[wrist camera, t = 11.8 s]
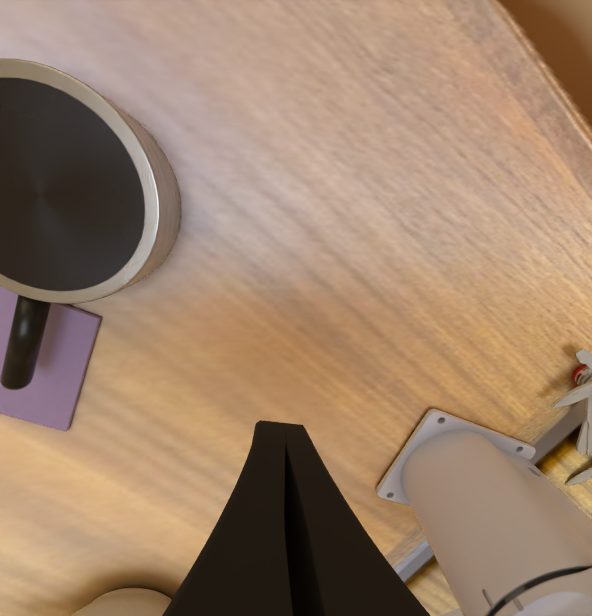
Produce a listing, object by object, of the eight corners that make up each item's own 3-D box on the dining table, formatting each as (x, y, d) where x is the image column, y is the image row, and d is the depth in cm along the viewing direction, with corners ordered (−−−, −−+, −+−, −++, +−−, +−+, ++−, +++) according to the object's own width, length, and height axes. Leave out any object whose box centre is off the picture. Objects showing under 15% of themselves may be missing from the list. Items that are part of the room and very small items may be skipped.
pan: (206, 151, 14) (190, 135, 11) (123, 393, 18) (94, 427, 15) (1, 48, 12) (-80, -2, 9) (-46, 340, 16) (-115, 368, 13)
